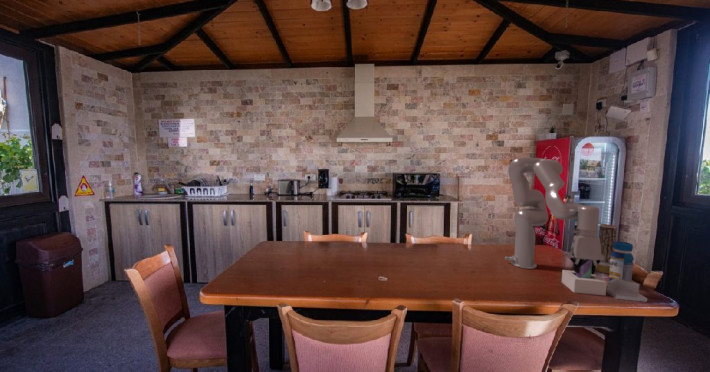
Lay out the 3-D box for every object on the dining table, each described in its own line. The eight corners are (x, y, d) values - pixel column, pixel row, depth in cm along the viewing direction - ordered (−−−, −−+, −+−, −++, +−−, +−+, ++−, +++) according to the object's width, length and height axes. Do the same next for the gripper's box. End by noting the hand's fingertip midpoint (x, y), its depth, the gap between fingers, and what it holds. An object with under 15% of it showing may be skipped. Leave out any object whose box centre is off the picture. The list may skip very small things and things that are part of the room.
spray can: (572, 286, 138) (575, 243, 137) (583, 285, 139) (586, 243, 137) (581, 291, 133) (585, 247, 131) (593, 290, 133) (596, 247, 132)
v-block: (600, 288, 136) (601, 276, 136) (629, 291, 134) (630, 279, 133) (615, 298, 126) (616, 286, 125) (647, 301, 123) (648, 289, 123)
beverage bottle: (633, 289, 135) (637, 246, 134) (609, 285, 140) (613, 243, 138) (629, 283, 142) (632, 242, 141) (606, 279, 147) (609, 239, 145)
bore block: (574, 292, 131) (575, 279, 131) (561, 282, 143) (562, 269, 142) (605, 295, 129) (606, 282, 128) (590, 284, 140) (591, 272, 140)
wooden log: (616, 274, 154) (620, 227, 152) (601, 273, 155) (604, 226, 153) (607, 270, 161) (611, 224, 159) (593, 269, 162) (597, 223, 160)
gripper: (569, 234, 132) (566, 273, 133) (614, 236, 128) (610, 277, 130) (561, 230, 139) (558, 268, 141) (603, 232, 136) (600, 271, 137)
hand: (583, 272), depth 135 cm, fingers closed on spray can, 5 cm apart
